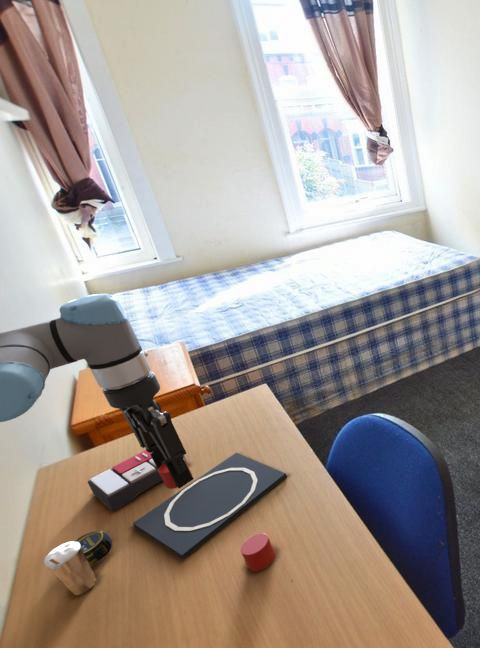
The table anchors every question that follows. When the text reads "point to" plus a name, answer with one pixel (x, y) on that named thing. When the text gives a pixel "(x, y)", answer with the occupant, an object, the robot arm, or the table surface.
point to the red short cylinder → (257, 552)
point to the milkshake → (71, 567)
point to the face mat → (208, 504)
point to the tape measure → (95, 545)
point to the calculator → (126, 480)
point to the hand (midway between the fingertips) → (178, 479)
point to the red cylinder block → (167, 476)
